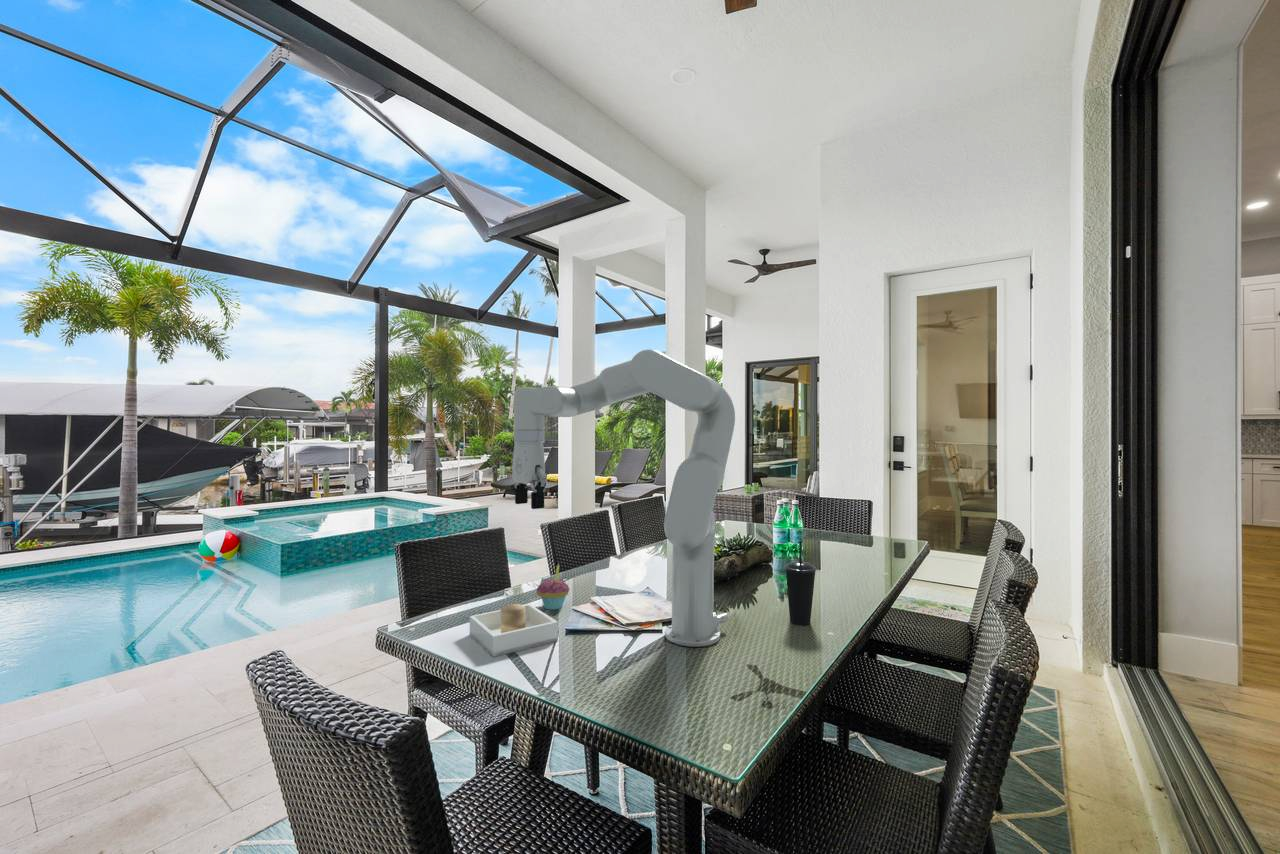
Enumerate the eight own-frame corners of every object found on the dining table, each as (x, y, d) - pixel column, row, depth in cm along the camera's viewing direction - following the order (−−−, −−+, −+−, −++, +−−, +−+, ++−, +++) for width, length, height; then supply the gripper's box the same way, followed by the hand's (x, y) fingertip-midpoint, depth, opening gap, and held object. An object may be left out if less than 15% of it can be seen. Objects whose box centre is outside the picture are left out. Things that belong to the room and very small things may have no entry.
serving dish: (529, 621, 138) (529, 603, 138) (557, 640, 126) (557, 621, 125) (469, 634, 129) (469, 616, 129) (493, 657, 117) (493, 636, 117)
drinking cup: (782, 624, 136) (782, 542, 136) (786, 614, 143) (786, 536, 143) (814, 629, 133) (815, 545, 133) (817, 619, 140) (817, 539, 140)
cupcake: (575, 605, 150) (575, 560, 150) (554, 614, 143) (554, 567, 143) (551, 599, 154) (551, 556, 154) (529, 608, 147) (529, 563, 147)
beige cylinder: (519, 628, 131) (519, 602, 131) (528, 635, 127) (528, 608, 127) (497, 633, 128) (497, 606, 128) (506, 640, 124) (506, 613, 124)
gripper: (501, 436, 144) (501, 503, 144) (529, 438, 130) (529, 512, 130) (528, 436, 148) (528, 500, 148) (558, 437, 134) (558, 509, 134)
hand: (529, 505), depth 139 cm, fingers open, 9 cm apart
